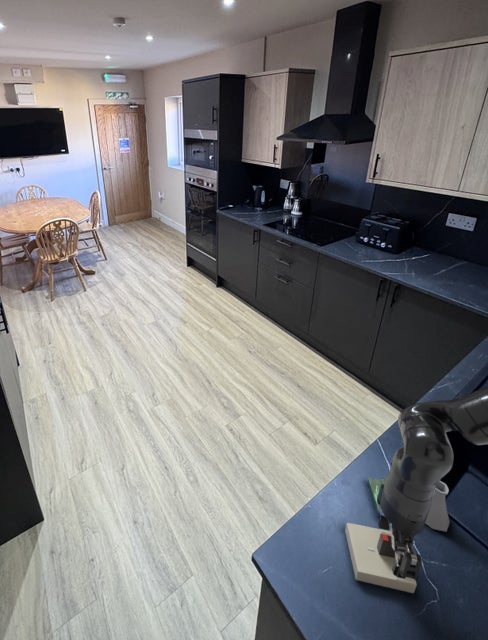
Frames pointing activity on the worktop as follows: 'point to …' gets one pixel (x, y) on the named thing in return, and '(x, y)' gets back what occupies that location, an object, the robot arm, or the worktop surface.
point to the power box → (375, 491)
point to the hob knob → (387, 546)
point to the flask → (438, 508)
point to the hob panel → (373, 559)
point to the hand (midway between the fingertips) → (390, 549)
